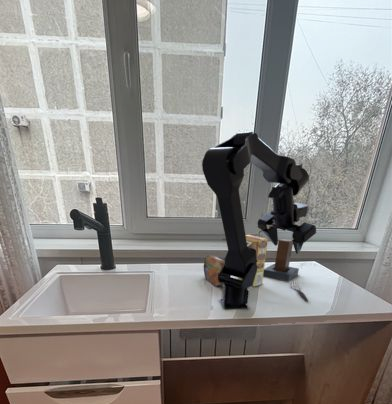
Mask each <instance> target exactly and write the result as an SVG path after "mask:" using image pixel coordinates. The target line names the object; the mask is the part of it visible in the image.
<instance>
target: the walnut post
mask: <svg viewBox="0 0 392 404" xmlns="http://www.w3.org/2000/svg"><path fill="white" fill-rule="evenodd" d="M292 240H293V239H290V238H279V239H278V244H277V249H276V255H275V262H274V264H275V267H274V270H277V271H283V272H287V271H288V268H289V267H290V262H291V258H292V257H291V256H292V251H293V247H294V245H293V242H292Z"/></svg>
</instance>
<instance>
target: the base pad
mask: <svg viewBox="0 0 392 404" xmlns="http://www.w3.org/2000/svg"><path fill="white" fill-rule="evenodd" d="M274 267H275V263H273V264H271V265H269V266H267V267H266V268H265V267H264V273H263V277H265V278H268V279H269V278H271V279H275V280H279V281H283V282H291V281H292V280H294V278H295V277H297V276H298V275H299V271H300V268H298V267H293V266H289V268H288V271H287V272H283V271H277V270H274Z"/></svg>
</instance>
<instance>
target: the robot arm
mask: <svg viewBox="0 0 392 404" xmlns="http://www.w3.org/2000/svg"><path fill="white" fill-rule="evenodd" d="M258 135H259V134H258V133H256V132H254V131H241V132H236V133H235V134H233V135H232V136H231V137H230V138H228V139H227V140H225V141H223V142H221V143H219V144H217V145H215V146H214V147H211V148H208V150H206V152H205V153H204V155H203V159H202V160H201V168H202V172H203V175H204V179H205V181H206V184H207V186H208V187H209V188H210V189H211V191H212V192H213V193H214V195H216V198H217V202H218V208H219V213H220V217H221V218H220V219H221V223H222V228H223V233H224V237H225V243H226V247H227V252H226V254H225V257H224V260H223V261H225V264H224V266H223V268H222V269H221V271H220V273H219V274H218V282H220V283H223V285H222V295H221V297H222V298H220V302H221V304H222V306H223V308H224V309H225V310H234V309H236V310H237V309H239V310H240V309H241V310H242V309H248V305H247V304H248V303H249V294H250V290H249V289H248V288H251V287H253V286H252V285H253V282H254V279H255V276H256V273H257V262H258V260H257V257H256V250H255V249H254V248H249V247H248V246H247V242H246V235H247V234H246V229H245V222H244V215H243V209H242V203H241V196H240V187H241V185H242V182H243V180H244V177H245V171H244V170H245V169H246V168H247V167H248V166H249V165H250V164H252V165H254V166H255V167H256V168H258V169H260V170H261V171H262V177H263V178H264V179H265V181H266V182H267V183H270V184H276V185H275V186H272V187H271V190H270V191H269V193H268V196H267V198H268V199H272V208H273V209H272V210H270V211H268V212H267V213H265V214H263V216H261V217H260V218H259V219H258V220H257V223H256V224H257V228H258V229H260V231H261V232H263V233H264V234H265V235H266V237H267V239H268V240H270V242H271V244H273V245H274V246H276V247H277V246H278V242H279V236H278V230H282V231H284V232H285V231H289V232H291V233H292V234H291V237H292V239H291V240H292V242H293V248H294V251H295V253H296V255H299V254H300V253H301V251H302V247H303V245H304V243H306V242H307V241H308V240H310V239H311V238H312V237H313V236H314V235H316V234H317V226H316V225H315V224H312V223H308V222H306V221H305V222H303V223H301V224H300V225H298V224H296V223H298V222H299V221H300V218H303V217H305V218H306V217H307V215H308V209H309V205H308V204H305V203H301V202H295V200H294V197H295V196H297V195H298V194H299V193H300V192H301V191H302V189H304V188H305V186H306V185H307V184H308V182H309V180H310V175H309V173H308V171H307V170H306V169H305V168H304V167H303V164H302V163H296V160H295V159H294V158H293V157H290V156H285V155H281V154H278V153H276V151H274V150H273V149H272V148H271V147H270V146H269V145H268V144H266V143H265V142H264V141H263V140H262V139H261V138H260V137H259V136H258ZM238 277H239V278H242V279H243V280H239V279H237V278H238Z"/></svg>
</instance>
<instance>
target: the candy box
mask: <svg viewBox="0 0 392 404" xmlns="http://www.w3.org/2000/svg"><path fill="white" fill-rule="evenodd" d="M245 235H246V242H247V246H248V247H249V248H254V249H255V250H256V257H257V260H258V262H257V273H256V276H255V279H254V282H253V285H252V286H251V287H257V286H263V280H264V276H263V273H264V269H265V266H266V265H265V264H266V257H267V256H266V255H267V247H268V241H269V238H266V237H261V236H257V235H252V234H245ZM236 279H239V280H243V279H242V278H239V277H236Z"/></svg>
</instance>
